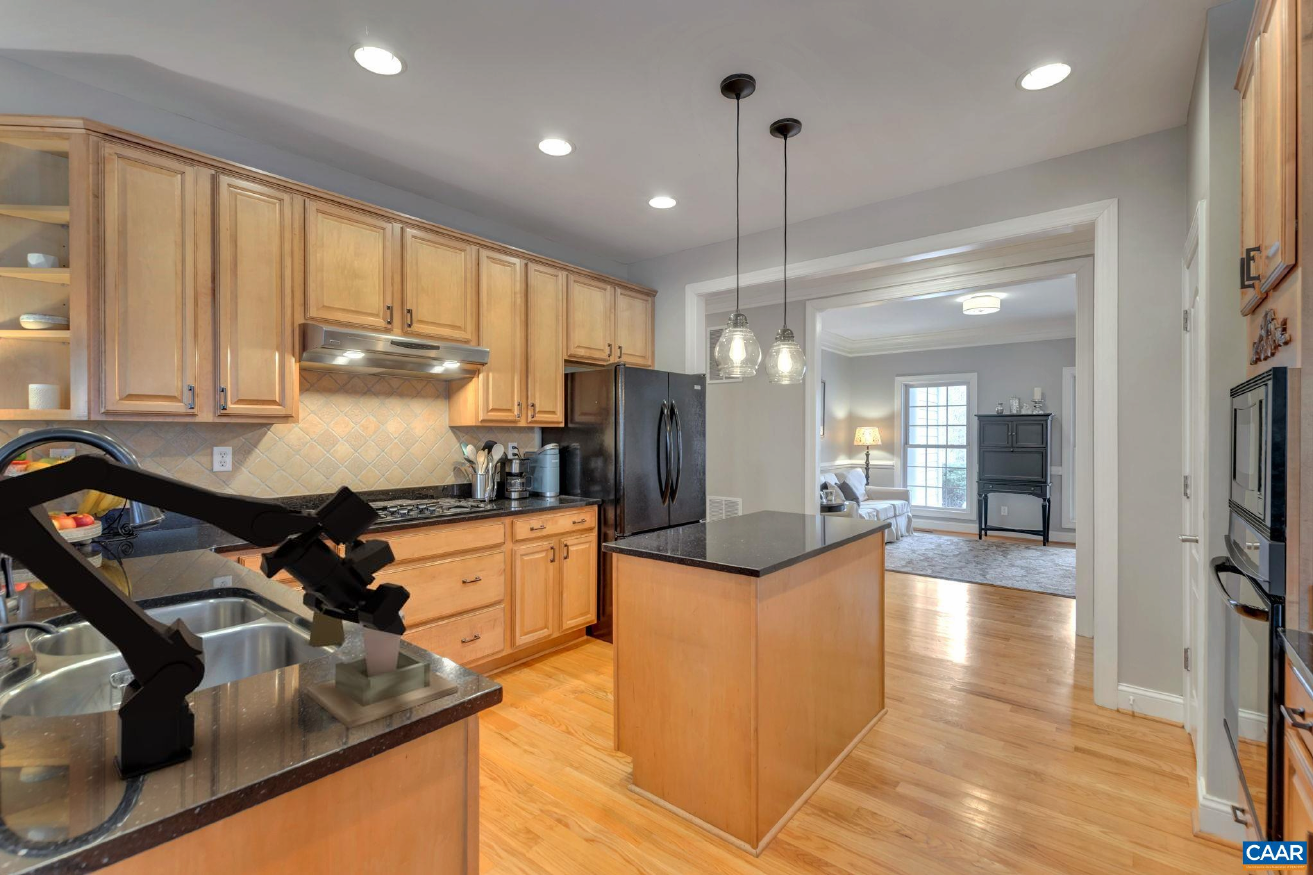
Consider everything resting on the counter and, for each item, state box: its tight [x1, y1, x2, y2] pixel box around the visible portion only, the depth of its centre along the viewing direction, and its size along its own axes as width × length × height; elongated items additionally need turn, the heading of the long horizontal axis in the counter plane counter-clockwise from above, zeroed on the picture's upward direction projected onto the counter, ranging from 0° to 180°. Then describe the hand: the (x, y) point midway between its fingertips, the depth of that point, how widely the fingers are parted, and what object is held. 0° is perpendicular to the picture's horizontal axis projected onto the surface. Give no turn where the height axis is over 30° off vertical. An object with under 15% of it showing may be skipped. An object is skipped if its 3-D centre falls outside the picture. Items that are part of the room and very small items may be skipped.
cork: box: [308, 606, 346, 648], centre depth 115 cm, size 6×6×11 cm
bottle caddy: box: [306, 646, 459, 729], centre depth 92 cm, size 16×16×4 cm
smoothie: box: [358, 609, 406, 678], centre depth 92 cm, size 6×6×14 cm
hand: (390, 628), depth 93 cm, fingers closed on smoothie, 6 cm apart
